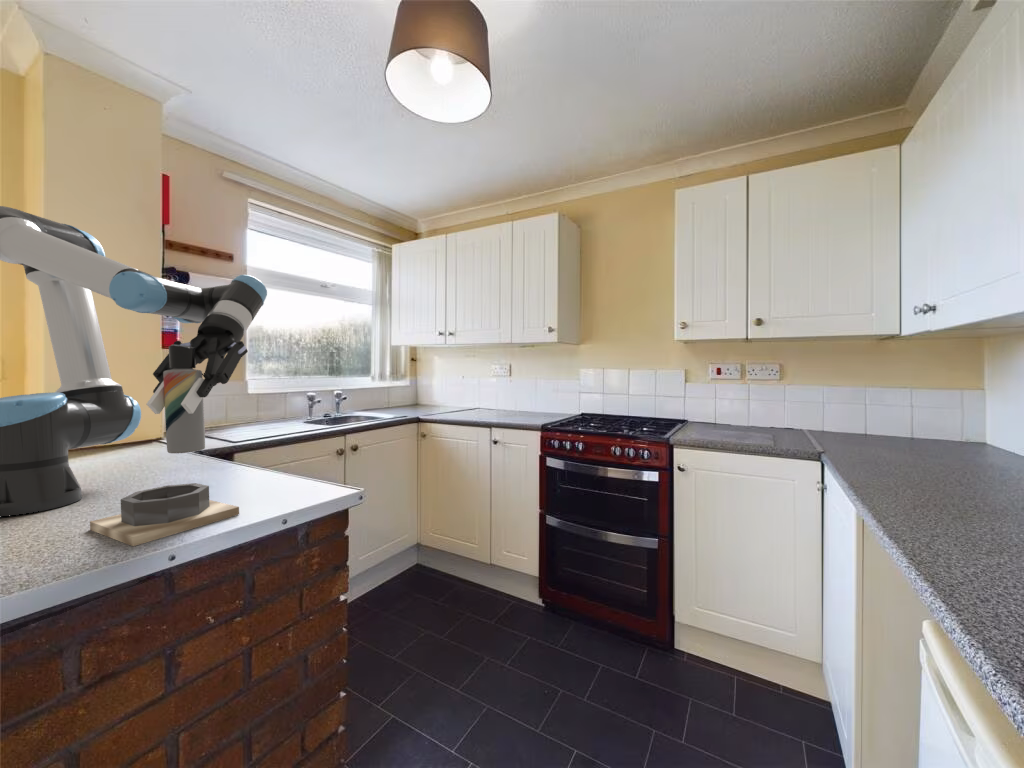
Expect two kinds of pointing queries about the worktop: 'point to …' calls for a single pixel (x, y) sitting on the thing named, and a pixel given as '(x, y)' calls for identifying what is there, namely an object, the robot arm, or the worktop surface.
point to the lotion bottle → (180, 425)
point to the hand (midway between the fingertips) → (170, 408)
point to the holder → (162, 513)
